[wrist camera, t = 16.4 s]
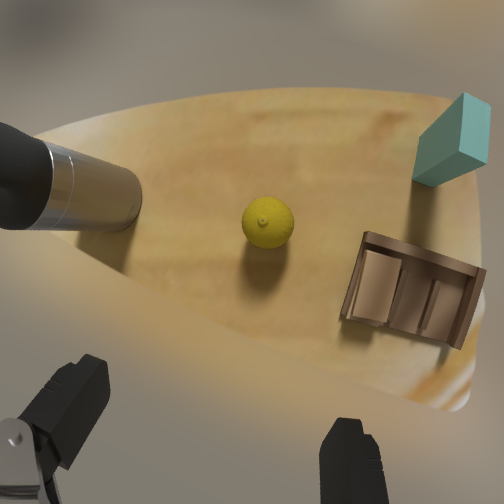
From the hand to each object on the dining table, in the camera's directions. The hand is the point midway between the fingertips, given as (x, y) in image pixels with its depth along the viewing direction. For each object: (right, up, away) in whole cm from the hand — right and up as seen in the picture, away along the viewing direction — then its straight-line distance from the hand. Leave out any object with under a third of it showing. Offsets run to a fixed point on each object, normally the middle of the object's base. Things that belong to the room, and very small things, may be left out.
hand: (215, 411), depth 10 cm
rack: (+21, +1, +26) cm, 33 cm away
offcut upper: (+15, +1, +24) cm, 28 cm away
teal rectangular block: (+23, +16, +25) cm, 37 cm away
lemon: (+4, +9, +29) cm, 30 cm away
